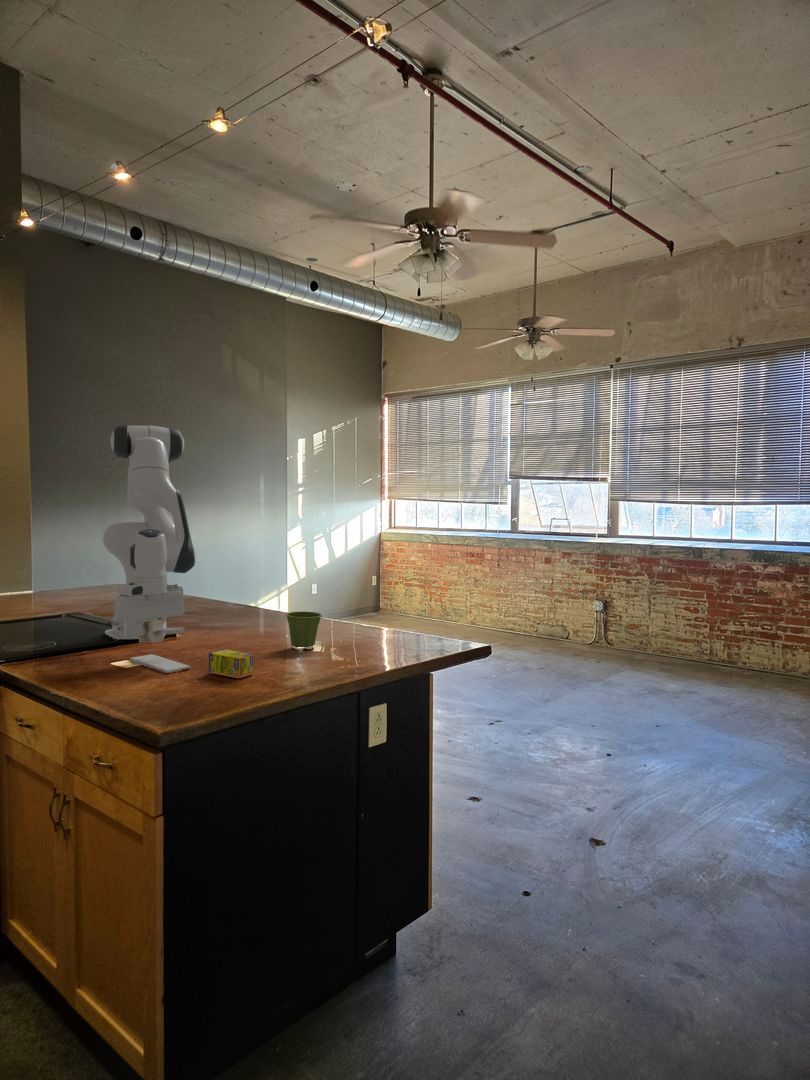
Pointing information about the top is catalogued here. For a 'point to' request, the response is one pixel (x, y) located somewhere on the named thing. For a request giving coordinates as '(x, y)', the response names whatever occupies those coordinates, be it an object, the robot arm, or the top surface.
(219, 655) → the supplement box
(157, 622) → the grey elongated block
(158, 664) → the rest mat
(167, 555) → the robot arm
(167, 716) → the top surface
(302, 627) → the plant pot
